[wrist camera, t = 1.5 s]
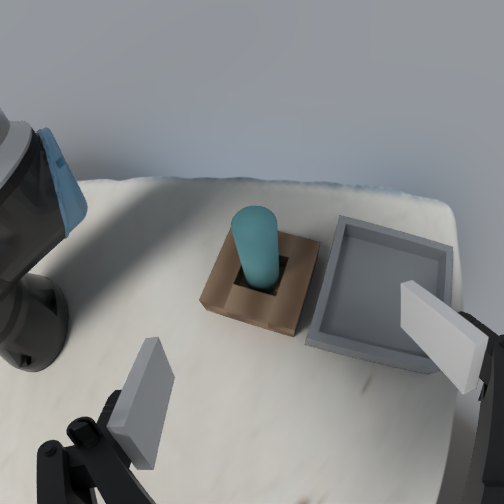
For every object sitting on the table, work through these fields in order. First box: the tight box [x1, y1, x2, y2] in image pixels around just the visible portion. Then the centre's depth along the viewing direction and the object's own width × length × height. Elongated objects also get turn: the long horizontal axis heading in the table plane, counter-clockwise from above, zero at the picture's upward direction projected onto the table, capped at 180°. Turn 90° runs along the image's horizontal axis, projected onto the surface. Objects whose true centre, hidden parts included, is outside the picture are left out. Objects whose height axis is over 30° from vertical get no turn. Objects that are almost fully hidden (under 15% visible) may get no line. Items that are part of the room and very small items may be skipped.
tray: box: [305, 215, 453, 374], centre depth 34 cm, size 16×16×4 cm
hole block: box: [199, 228, 320, 337], centre depth 37 cm, size 11×11×4 cm
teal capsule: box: [231, 206, 280, 294], centre depth 32 cm, size 4×4×12 cm
